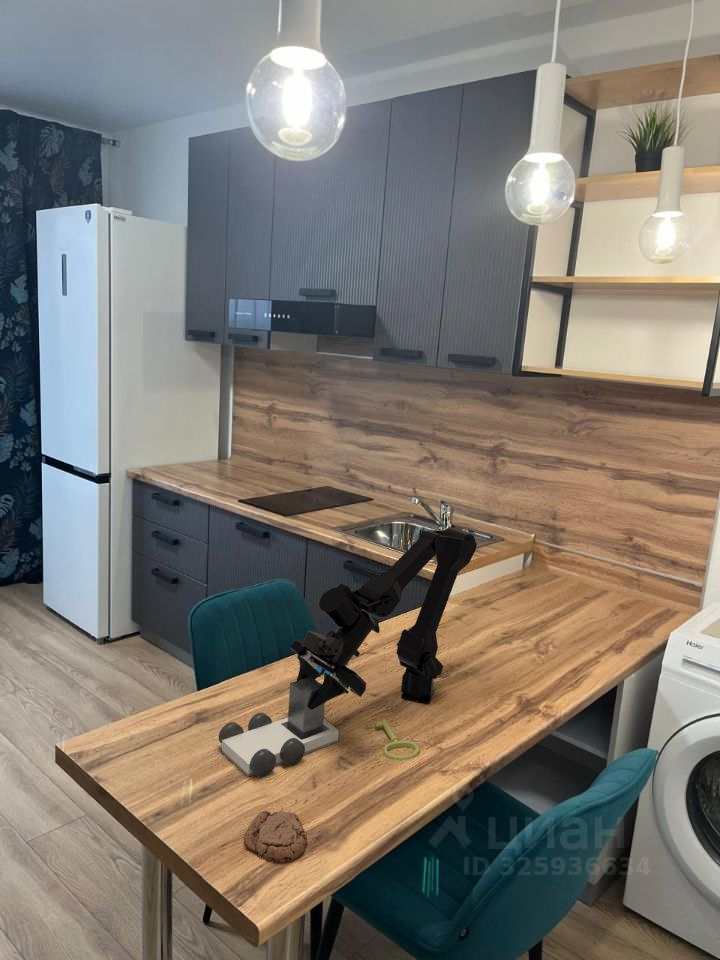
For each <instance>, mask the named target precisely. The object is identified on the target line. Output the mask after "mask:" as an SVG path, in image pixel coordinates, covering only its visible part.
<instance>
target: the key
mask: <svg viewBox="0 0 720 960" xmlns="http://www.w3.org/2000/svg"><path fill="white" fill-rule="evenodd" d="M374 726H375V727H376V728H381V727H383V729H384V730H385V732H386V734H387V736H388V738H389V739H390V741H389V743H387V744H386V745H384V747H383V749H382V753H383V756H384V757H385V758H387V759H390V760H395V761H405V760H411V759H414V758H416V757H417V756H418V755H419V753H420V748H419V746H418V745H417V744H416V743H414V742H413V741H409V740H400V737H399V736H396V734H395V733H394V731H393V730H392V728H391V726H390V724H389V723H388V721H387V720H386V719H381V721H374ZM396 748H408V749H409V748H410V749H413V750H414V751H413V752H411V753H409V754H404V755H397V754H392V753H390V752H389V751H390V750H392V749H396Z"/></svg>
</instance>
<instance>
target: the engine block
mask: <svg viewBox="0 0 720 960" xmlns="http://www.w3.org/2000/svg"><path fill="white" fill-rule="evenodd" d="M322 684H323V683H321V682H319V681H317V679H313V678H312V677H308V678H305V679H302V680H299V681H297V680H295V681H293V682H289V694H288V696H289V698H288V712H287V713H288V714H287V718H288V727H287V729H288V730H289V731H290V732H292V733H293V734H294V735H296V736H297V737H298V738H299V739H301V740H303V739H306V738H308V737H311V736H313V735H316V734H319V733H321V732H323V721H324V720H325V704H326V702H325V703H323V704H321V705H320V706H318V707H316V708H314V709H313V710H311V709H309V708H308V705H309V704H310V702H311V700H312V699H313V697H314V696H315V694H316V693H317V691H318V690H319V688H320V687H321V685H322Z"/></svg>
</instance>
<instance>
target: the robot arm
mask: <svg viewBox="0 0 720 960" xmlns="http://www.w3.org/2000/svg"><path fill="white" fill-rule="evenodd" d="M477 545H478V543H477V542H476V537H475V536H474V535H473V534H472V533H468V532H465V531H462V530H460V529H456V528H453V527H448V528H445V529H444V530H443V529H442V530H440V529H439V530H437V529H436V530H435V529H434V530H429V529H428V530H423V531H421V533H420V534H419V536H418V539H417V540H416V541H415V542H414V543H413V544H412V545H411V546H410V547H409V548H408V549H407V550H406V551H405V552H404V553H403V554H402V555H401V557H399V559H397V561H395V562H394V564H393V565H392V566H391V567H390V568H389V569H388V570H386V571H385V572H384V573H382V574H379V575H376V576H373V577H372V578H371V579H369V580H368V581H367V582H365V583H364V584H362V586H361V587H359V588H357V589H354V590H351V588H350V587H349V586H348V585H346V584H344V583H342V582H341V583H340V584H339V585H338V586H337V587H332V588H330V589H328V590H327V591H326V592H324V593H323V594H322V595H321V597H320V599H319V601H318V602H319V609H320V610H321V611H322V612H323V614H325V615H326V616H327V617H328V619H329V620H331V621H332V622H333V623H334V625H335V626H337V627H338V628H337V629H336V630H335V632H334V631H333V630H330V631H328V632H327V634H326V635H324V634H323V633H322V634H321V633H318V632H317V631H316V632H314V631H311V630H307V632H306V634H305V635H304V636H305V637H304V638H303V639H300V638H299V639H295V641H294V642H293V643H292V645H291V646H290V647H289V648H290V650H291V651H292V652H294V653H295V654H296V655H297V656H296V657H297V658H296V659H298V663H299V669H298V674H297V678H296V681H299V680H302V679H305V678H308V677H312V678H313V679H315V680H317V679H318V678H319V677H320V675H321V672H320V673H319V672H318V671H317V670H316V668H318V667H321V668H322V670H324V671H328V672H329V673H330V675H328V674H327V673H325V674H324V673H323V674H324V677H323V682H322V683H321V684H322V685H321V687H320V688H319V690H318V691H317V693H316V694H315V696H314V697H313V699H312V700H311V702H310V704H309V705H308V708H309V709H311V710H313V709H314V708H316V707H318V706H320V705H321V704H323V703H325V704H326V703H327V702H329V701H330V700H332V699H333V698H336V697H339V696H342V695H343V694H346V695H347V694H349V693H350V692H351V693H353V694H354V695H356V696H358V697H359V698H361V697H363V695H364V693H365V692H366V691H367V682H366V681H365V680H364V679H363V678H362V677H361V676H360V675H359V674H357V673H358V672H356V671H354V670H353V669H351V668H349V667H347V665H348V664H349V662H350V661H351V660H352V658H353V657H356V658H358V657H359V656H360V654H361V653H360V651H359V648H360V647H361V646H362V644H363V643H364V641H366V638H367V637H368V636H369V635H370V633H371V632H375V633H376V634H379V633H380V631H381V629H380V623H379V622H380V620H379V618H376V617H374V616H371V615H375V616H377V617H380V618H387V617H389V616H390V615H391V614H392V612H393V611H394V610H395V608H396V607H397V605H398V604H400V603H399V602H400V601H401V599H402V594H403V591H404V589H405V587H407V586H408V584H409V583H411V581H412V580H413V579H414V578H415V577H416V576H417V575H418V574H419V573H420V572H421V570H423V569H424V567H425V566H426V565H427V564H428V563H429V562H430V561H431V560H432V559H433V558H434V557H435V558H436V567H435V569H434V573H433V576H432V578H431V581H430V584H429V586H428V588H427V591H426V594H425V596H424V599H423V601H422V604H421V608H420V610H419V612H418V615H417V618H416V621H415V623H414V624H413V626H411V627H410V628H409V629H406V628H404V629H403V630H402V631H401V634H400V638H399V640H398V642H397V644H396V647H397V648H396V655H397V659H398V661H399V666H401V667H403V668H406V669H405V670H404V672H403V674H402V677H401V687H400V692H401V693H402V694H401V695H400V696H401V699H403V700H407V701H412V702H416V703H422V704H426V705H427V704H428V705H429V704H430V703H431V701H432V698H433V696H434V694H435V689H434V685H435V684H434V683H435V680H436V679H438V676H439V677H440V676H441V675H442V672H443V669H444V665H443V663H442V662H440V660H439V659H438V658H437V657H436V656H437V652H438V649H439V646H438V645H439V644H438V638H437V630H438V628H439V625H440V623H441V620H442V617H443V615H444V613H445V612H444V611H445V610H446V607H447V604H448V601H449V600H450V599H449V598H450V595H451V593H452V590H453V587H454V585H455V582H456V580H457V578H458V575H459V572H461V571H462V570H463V569H464V568H465V567H466V566H468V564H470V562H471V560H472V558H473V556H474V555H475V553H476V550H477ZM369 614H371V615H369ZM332 666H333V667H332ZM349 688H350V692H349V691H348V690H349Z"/></svg>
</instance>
